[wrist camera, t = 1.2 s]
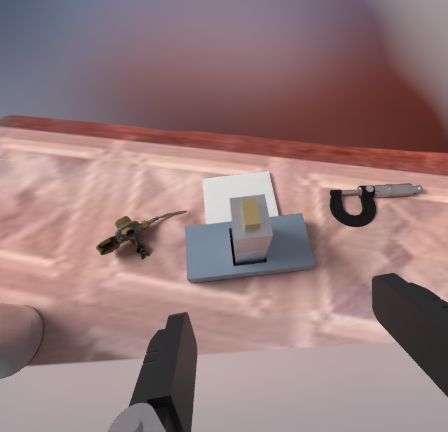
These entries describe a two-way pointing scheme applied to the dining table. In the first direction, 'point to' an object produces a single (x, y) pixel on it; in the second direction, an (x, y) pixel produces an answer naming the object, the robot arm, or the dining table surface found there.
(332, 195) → the micrometer
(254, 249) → the grey yellow-tipped rectangular bar
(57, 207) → the dining table surface
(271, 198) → the mat
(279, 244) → the body
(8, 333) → the robot arm
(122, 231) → the regulator
